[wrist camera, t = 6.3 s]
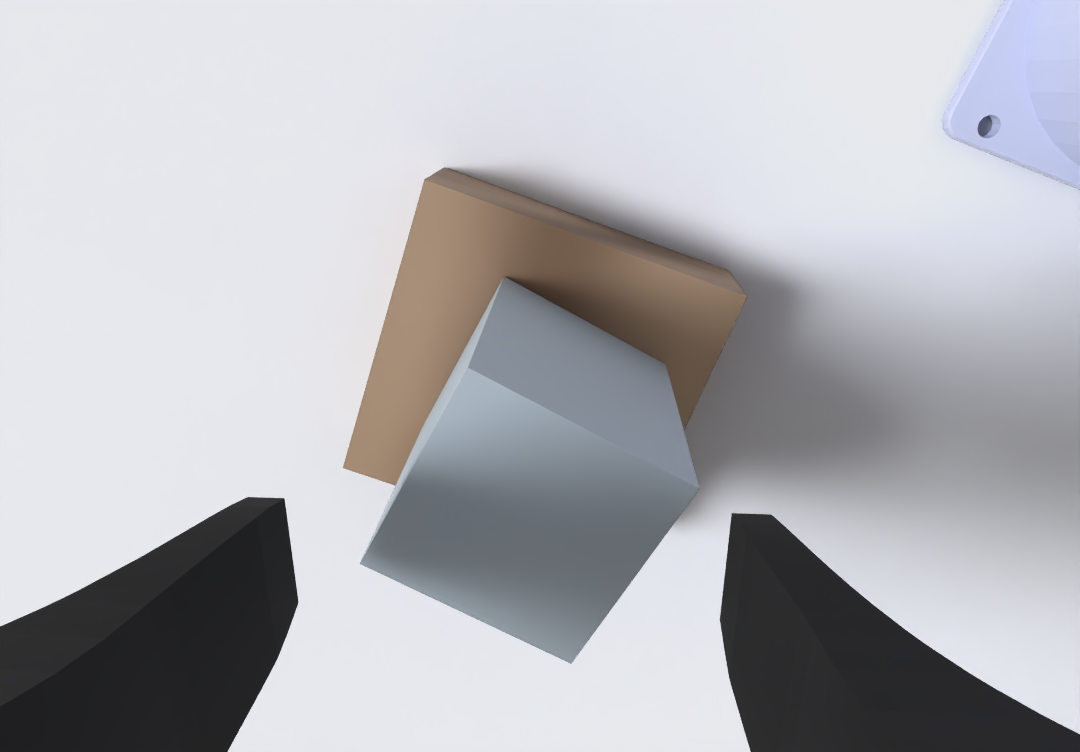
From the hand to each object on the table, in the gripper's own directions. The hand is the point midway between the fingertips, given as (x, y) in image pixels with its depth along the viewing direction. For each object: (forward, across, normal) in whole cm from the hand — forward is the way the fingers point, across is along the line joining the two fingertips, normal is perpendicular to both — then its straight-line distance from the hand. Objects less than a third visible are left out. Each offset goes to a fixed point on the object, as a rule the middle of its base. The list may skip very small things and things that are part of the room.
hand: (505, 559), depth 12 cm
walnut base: (+10, 0, 0) cm, 10 cm away
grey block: (+7, 0, 0) cm, 7 cm away
